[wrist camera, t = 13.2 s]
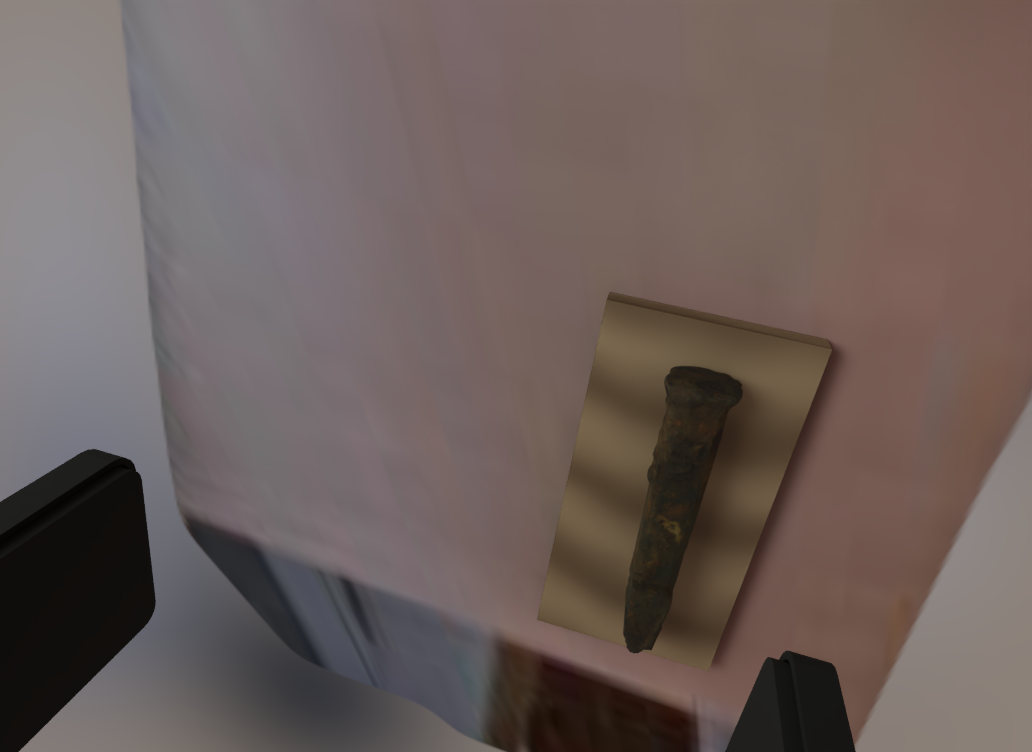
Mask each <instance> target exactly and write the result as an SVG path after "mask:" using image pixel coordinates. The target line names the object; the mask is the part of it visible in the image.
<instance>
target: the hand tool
mask: <svg viewBox="0 0 1032 752" xmlns="http://www.w3.org/2000/svg"><path fill="white" fill-rule="evenodd" d="M664 386H665V390H666V394H667V396H666V398H665V402H666V406H667V410H666V414H665V416H664V419H663V422H662V427H661V429H660V431H659V435H658V441H657V444H656V446H655V448H654V451H653V456H654V457H653V461H652V464H651V466H650V467H649V468H648V472H647V479H648V481H649V486H648V491H647V495H646V500H645V505H644V510H643V515H642V518H641V522H640V526H639V531H638V535H637V540H636V544H635V550H634V552H633V557H632V560H631V565H630V569H629V572H630V575H629V578H628V585H627V587H626V595H625V613H624V627H623V636H624V638H625V642H626V645H627V648H628V650H629V651H630V652H633V653H639V652H641V651H643V650H650V651H651V650H652V648H653V646H654V644H655V642H656V639H657V637H658V635H659V633H660V632H661V630H662V624H663V622H664V620H665V618H666V616H667V614H668V612H669V610H670V608H671V603H672V598H673V589H674V586H675V583H676V581H677V577H678V574H679V570H680V567H681V563H682V560H683V556H684V553H685V550H686V548H687V546H688V542H689V538H690V535H691V533H692V530H693V528H694V525H695V522H696V518H697V514H698V511H699V508H700V505H701V502H702V499H703V495H704V492H705V489H706V486H707V483H708V479H709V477H710V474H711V471H712V467H713V464H714V460H715V457H716V454H717V451H718V447H719V444H720V441H721V438H722V432H723V429H724V425H725V421H726V418H727V415H728V412H729V410H730V408H732V407H734V406H735V405H736V404H738V403H739V401H740V400H741V399H742V397H743V390H742V388H741V386H742V384H741V383H740V382H739V381H738V380H736V379H733V378H732V377H731V376H730V375H728V374H725V373H719V372H716V371H712V370H710V369H707V368H702V367H696V366H676V367H673V368H671V370H670V373H669V374H668V375H667V376H666V377H665V380H664Z"/></svg>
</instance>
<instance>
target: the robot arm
mask: <svg viewBox="0 0 1032 752" xmlns="http://www.w3.org/2000/svg"><path fill="white" fill-rule="evenodd" d="M155 601H156V600H155V592H154V583H153V574H152V565H151V557H150V548H149V540H148V530H147V522H146V514H145V504H144V495H143V487H142V479H141V476H140V474H139V473H138V472H136V469H135V466H134V464H133V462H132V461H131V460H129V459H126V458H123V457H120V456H116V455H113V454H110V453H106V452H103V451H99V450H96V449H92V450H87V451H84V452H82V453H80V454H78V455H77V456H75V457H74V458H72V459H70V460H69V461H67V462H65V463H64V464H62V465H60V466H59V467H57V468H55V469H54V470H52V471H50V472H49V473H47V474H45V475H44V476H42V477H41V478H39V479H37V480H36V481H34V482H33V483H31V484H29V485H28V486H26V487H24V488H23V489H21V490H19V491H18V492H16V493H14V494H13V495H11V496H9V497H8V498H6V499H4V500H3V501H1V502H0V752H19V751H20V750H21V748H23V747H24V746H25V745H26V744H27V743H28V741H30V740H31V739H32V738H33V737H34V736H35V735H36V734H37V733H38V732H39V731H40V730H41V729H42V728H43V727H44V726H45V725H46V724H47V723H48V722H49V721H50V720H51V719H52V718H53V717H54V716H55V715H56V714H57V713H58V712H59V711H60V710H61V709H62V708H63V707H64V706H65V705H66V704H67V703H68V702H69V701H70V700H71V699H72V698H73V697H74V696H75V695H76V694H77V693H78V692H79V691H80V690H81V689H82V688H83V687H84V686H85V685H86V684H87V683H88V682H89V681H90V680H91V679H92V678H93V677H94V676H95V675H96V674H97V673H98V672H99V671H100V670H101V669H102V668H103V667H104V666H105V665H106V664H107V663H108V662H109V661H110V660H111V659H113V658H114V656H115V655H117V654H118V653H119V652H120V651H121V649H123V648H124V647H125V645H127V644H128V643H129V642H130V641H131V640H132V638H134V637H135V636H136V634H137V633H139V632H140V631H141V630H142V629H143V628H144V626H145V625H146V624H147V623H148V622H149V620H150V618H151V617H152V614H153V612H154V609H155ZM725 752H856V751H855V747H854V743H853V739H852V734H851V730H850V726H849V722H848V717H847V713H846V709H845V705H844V700H843V696H842V692H841V687H840V683H839V679H838V675H837V672H836V669H835V667H834V666H833V664H832V663H829V662H825V661H822V660H818V659H815V658H811V657H808V656H805V655H801V654H798V653H794V652H791V651H785V652H784V653H783V654H782V656H781V657H780V659H779V660H777V659H774V658H770V657H768V658H767V659H766V660H765V662H764V664H763V666H762V668H761V670H760V673H759V675H758V677H757V680H756V682H755V684H754V687H753V689H752V691H751V693H750V696H749V698H748V700H747V703H746V705H745V707H744V710H743V712H742V714H741V717H740V719H739V721H738V723H737V726H736V728H735V730H734V733H733V735H732V737H731V740H730V742H729V744H728V747H727V749H726V751H725Z"/></svg>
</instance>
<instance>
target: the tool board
mask: <svg viewBox="0 0 1032 752" xmlns="http://www.w3.org/2000/svg"><path fill="white" fill-rule="evenodd" d="M831 352H832V348H831V346H830V344H829V342H828V340H827V339H823V338H818V337H814V336H809V335H804V334H800V333H795V332H791V331H786V330H781V329H777V328H772V327H768V326H763V325H759V324H754V323H749V322H745V321H740V320H736V319H731V318H727V317H722V316H717V315H713V314H708V313H704V312H699V311H694V310H690V309H685V308H681V307H676V306H672V305H667V304H662V303H658V302H653V301H649V300H644V299H640V298H635V297H630V296H626V295H621V294H617V293H612V292H610V293H609V296H608V298H607V301H606V306H605V311H604V315H603V320H602V324H601V329H600V334H599V338H598V343H597V347H596V352H595V356H594V361H593V366H592V370H591V375H590V379H589V384H588V389H587V393H586V398H585V402H584V407H583V411H582V416H581V421H580V425H579V430H578V434H577V439H576V443H575V448H574V453H573V457H572V462H571V466H570V471H569V476H568V480H567V485H566V489H565V494H564V498H563V503H562V508H561V512H560V517H559V521H558V526H557V531H556V535H555V540H554V544H553V549H552V553H551V558H550V563H549V567H548V572H547V576H546V581H545V585H544V590H543V595H542V599H541V604H540V608H539V613H538V618H537V620H539V621H543V622H546V623H549V624H553V625H556V626H559V627H563V628H566V629H569V630H573V631H576V632H579V633H583V634H586V635H589V636H593V637H596V638H599V639H603V640H606V641H609V642H613V643H616V644H619V645H623V646H626V647H627V645H626V642H625V638H624V636H623V627H624V613H625V595H626V587H627V585H628V578H629V575H630V572H629V569H630V565H631V560H632V557H633V552H634V550H635V544H636V540H637V535H638V531H639V526H640V522H641V518H642V515H643V510H644V505H645V500H646V495H647V491H648V486H649V481H648V479H647V472H648V468H649V467H650V466H651V464H652V461H653V457H654V456H653V451H654V448H655V446H656V444H657V441H658V435H659V431H660V429H661V427H662V422H663V419H664V416H665V414H666V410H667V406H666V402H665V398H666V396H667V394H666V390H665V386H664V380H665V377H666V376H667V375H668V374H669V373H670V370H671V368H673V367H676V366H696V367H702V368H707V369H710V370H712V371H716V372H719V373H725V374H728V375H730V376H731V377H732V378H733V379H736V380H738V381H739V382H740V383H741V384H742V386H741V388H742V390H743V397H742V399H741V400H740V401H739V403H738V404H736V405H735V406H734V407H732V408H730V410H729V412H728V415H727V418H726V421H725V425H724V429H723V432H722V438H721V441H720V444H719V447H718V451H717V454H716V457H715V460H714V464H713V467H712V471H711V474H710V477H709V479H708V483H707V486H706V489H705V492H704V495H703V499H702V502H701V505H700V508H699V511H698V514H697V518H696V522H695V525H694V528H693V530H692V533H691V535H690V538H689V542H688V546H687V548H686V550H685V553H684V556H683V560H682V563H681V567H680V570H679V574H678V577H677V581H676V583H675V586H674V589H673V598H672V603H671V608H670V610H669V612H668V614H667V616H666V618H665V620H664V622H663V624H662V630H661V632H660V633H659V635H658V637H657V639H656V642H655V644H654V646H653V648H652V650H651V651H650V650H643V652H646V653H649V654H653V655H656V656H659V657H663V658H666V659H669V660H672V661H676V662H679V663H682V664H686V665H689V666H692V667H696V668H699V669H702V670H706V671H709V668H710V665H711V663H712V660H713V658H714V655H715V652H716V650H717V647H718V645H719V642H720V639H721V637H722V634H723V632H724V629H725V626H726V624H727V621H728V619H729V616H730V614H731V611H732V608H733V606H734V603H735V601H736V598H737V595H738V593H739V590H740V588H741V585H742V582H743V580H744V577H745V575H746V572H747V569H748V567H749V564H750V562H751V559H752V556H753V554H754V551H755V549H756V546H757V544H758V541H759V538H760V536H761V533H762V531H763V528H764V525H765V523H766V520H767V518H768V515H769V512H770V510H771V507H772V505H773V502H774V499H775V497H776V494H777V492H778V489H779V487H780V484H781V481H782V479H783V476H784V474H785V471H786V468H787V466H788V463H789V461H790V458H791V455H792V453H793V450H794V448H795V445H796V442H797V440H798V437H799V435H800V432H801V429H802V427H803V424H804V422H805V419H806V417H807V414H808V411H809V409H810V406H811V404H812V401H813V398H814V396H815V393H816V391H817V388H818V385H819V383H820V380H821V378H822V375H823V372H824V370H825V367H826V365H827V362H828V360H829V357H830V354H831Z"/></svg>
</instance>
